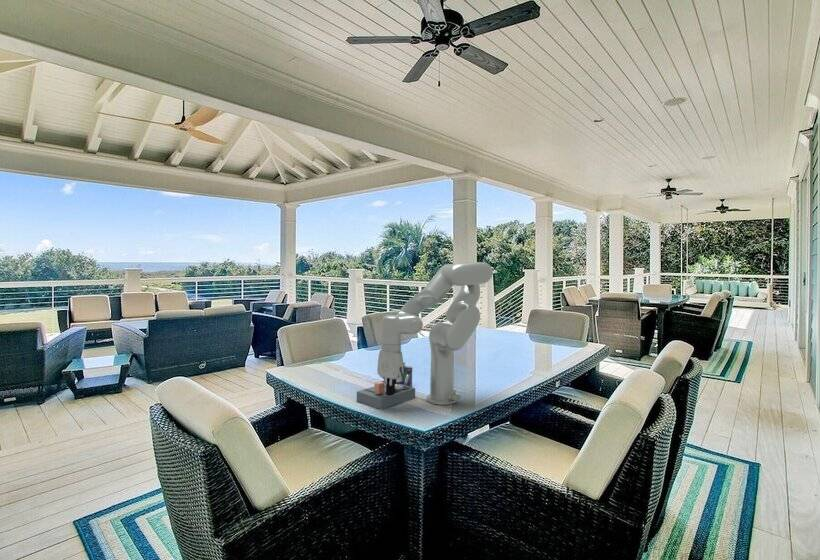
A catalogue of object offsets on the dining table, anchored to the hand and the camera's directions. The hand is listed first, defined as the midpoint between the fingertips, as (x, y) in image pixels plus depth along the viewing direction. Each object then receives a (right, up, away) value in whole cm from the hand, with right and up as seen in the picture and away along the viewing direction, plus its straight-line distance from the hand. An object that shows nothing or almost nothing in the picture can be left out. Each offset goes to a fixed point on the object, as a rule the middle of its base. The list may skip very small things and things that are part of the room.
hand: (390, 394), depth 162 cm
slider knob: (-5, -1, +4) cm, 6 cm away
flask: (+4, -4, +31) cm, 32 cm away
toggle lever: (+5, 0, +11) cm, 13 cm away
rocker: (+1, +1, +7) cm, 8 cm away
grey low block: (-2, -5, +10) cm, 11 cm away
